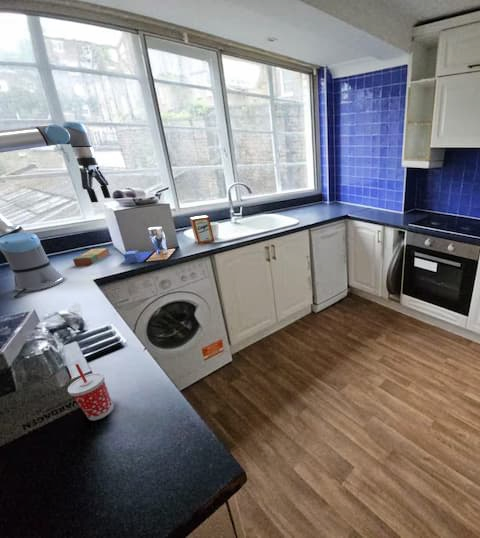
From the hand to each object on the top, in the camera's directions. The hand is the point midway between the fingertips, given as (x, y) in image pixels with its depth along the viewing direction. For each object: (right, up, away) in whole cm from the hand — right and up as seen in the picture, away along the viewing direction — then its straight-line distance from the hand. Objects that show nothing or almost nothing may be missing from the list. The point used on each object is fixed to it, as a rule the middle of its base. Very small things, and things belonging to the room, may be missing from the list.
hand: (101, 200), depth 155 cm
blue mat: (+13, -30, +9) cm, 34 cm away
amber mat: (+24, -29, +12) cm, 39 cm away
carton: (-11, -32, +8) cm, 35 cm away
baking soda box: (+36, -18, +36) cm, 54 cm away
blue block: (+15, -32, +3) cm, 35 cm away
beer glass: (+23, -28, +13) cm, 39 cm away
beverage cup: (+76, -70, -86) cm, 135 cm away
